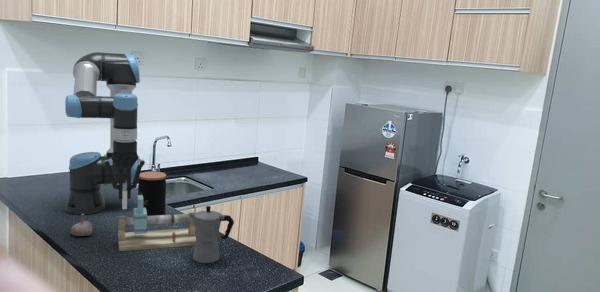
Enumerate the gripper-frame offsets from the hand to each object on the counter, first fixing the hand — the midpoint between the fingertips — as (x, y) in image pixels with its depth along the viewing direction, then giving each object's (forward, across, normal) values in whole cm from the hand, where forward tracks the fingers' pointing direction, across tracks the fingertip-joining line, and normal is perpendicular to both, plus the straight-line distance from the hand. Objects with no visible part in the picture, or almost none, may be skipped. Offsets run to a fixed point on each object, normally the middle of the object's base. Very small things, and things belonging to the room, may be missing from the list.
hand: (124, 207), depth 161 cm
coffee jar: (+13, +11, +25) cm, 30 cm away
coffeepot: (+13, +26, -18) cm, 34 cm away
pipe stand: (+13, +11, 0) cm, 17 cm away
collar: (+8, +5, 0) cm, 10 cm away
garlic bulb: (+13, -14, +11) cm, 22 cm away
